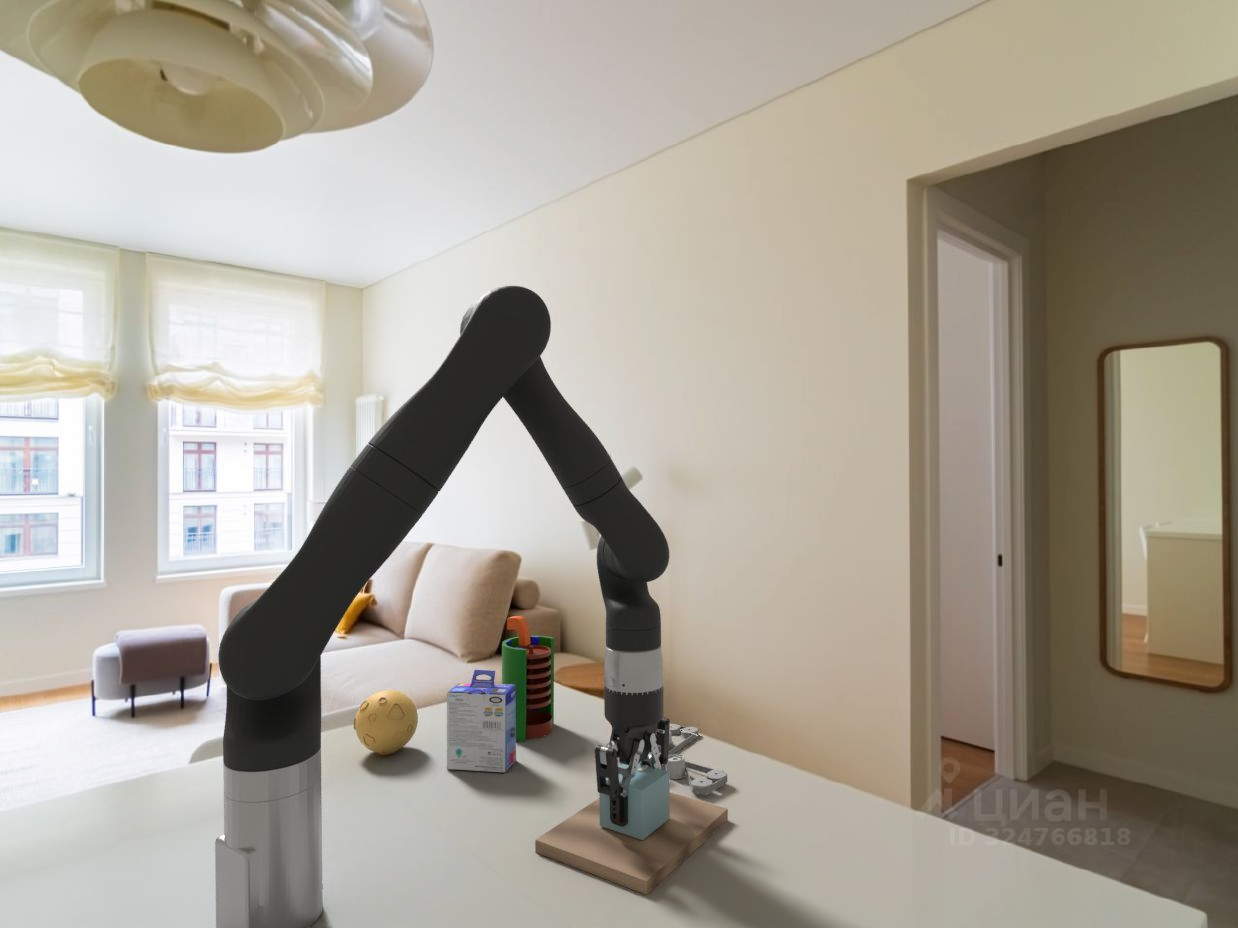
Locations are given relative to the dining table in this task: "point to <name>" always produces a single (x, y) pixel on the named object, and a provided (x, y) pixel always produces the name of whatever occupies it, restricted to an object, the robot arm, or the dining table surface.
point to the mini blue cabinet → (641, 802)
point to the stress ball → (386, 721)
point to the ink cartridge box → (481, 725)
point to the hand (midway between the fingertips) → (634, 812)
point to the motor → (530, 679)
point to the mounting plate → (632, 843)
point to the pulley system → (691, 764)
